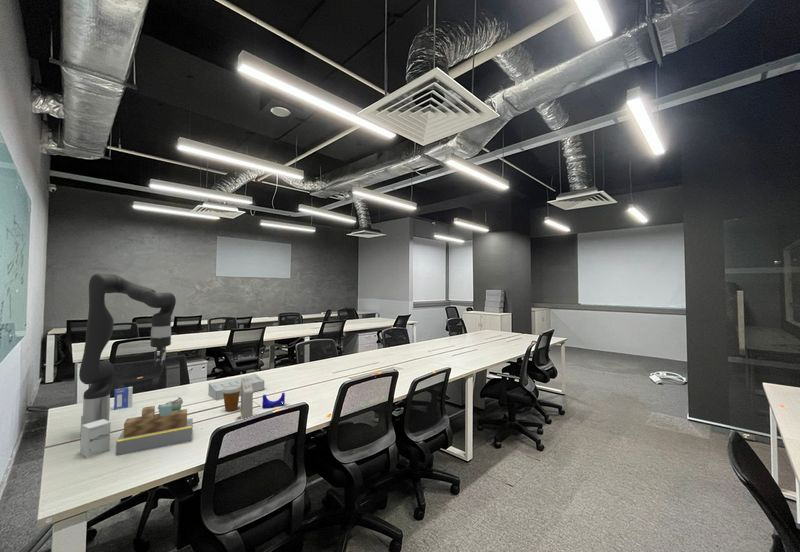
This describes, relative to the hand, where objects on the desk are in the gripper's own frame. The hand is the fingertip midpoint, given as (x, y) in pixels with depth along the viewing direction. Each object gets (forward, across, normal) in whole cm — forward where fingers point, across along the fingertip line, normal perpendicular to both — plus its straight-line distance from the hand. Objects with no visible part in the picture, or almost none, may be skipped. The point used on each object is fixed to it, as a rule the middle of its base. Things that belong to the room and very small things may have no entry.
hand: (159, 371), depth 147 cm
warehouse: (+32, -56, +36) cm, 73 cm away
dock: (+31, +4, 0) cm, 31 cm away
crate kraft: (+19, +4, -3) cm, 20 cm away
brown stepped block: (+25, +4, 0) cm, 25 cm away
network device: (+31, +1, +36) cm, 48 cm away
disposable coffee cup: (+31, -24, +31) cm, 50 cm away
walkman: (+32, -55, -22) cm, 67 cm away
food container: (+31, -21, +4) cm, 38 cm away
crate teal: (+19, +4, +3) cm, 20 cm away
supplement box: (+32, +2, -21) cm, 38 cm away
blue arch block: (+31, -18, +53) cm, 64 cm away
